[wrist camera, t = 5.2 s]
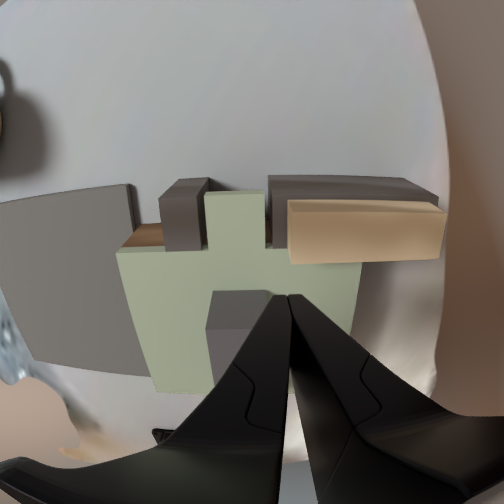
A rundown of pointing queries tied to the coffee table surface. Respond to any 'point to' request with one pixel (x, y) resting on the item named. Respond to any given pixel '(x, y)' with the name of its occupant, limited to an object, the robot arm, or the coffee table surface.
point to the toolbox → (279, 192)
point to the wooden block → (363, 231)
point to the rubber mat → (71, 278)
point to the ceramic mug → (0, 124)
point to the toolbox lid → (221, 293)
